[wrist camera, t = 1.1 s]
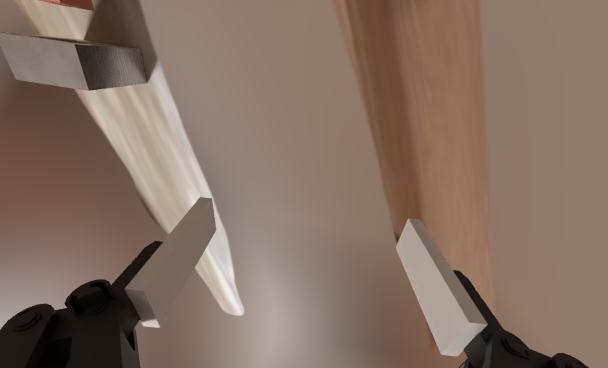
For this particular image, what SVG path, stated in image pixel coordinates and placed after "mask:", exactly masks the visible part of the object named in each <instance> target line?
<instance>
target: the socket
mask: <svg viewBox="0 0 608 368" xmlns="http://www.w3.org/2000/svg"><path fill="white" fill-rule="evenodd" d="M0 46H1V48H2V50H3V52H4V54H5V57H6V59H7V61H8V63H9V65H10V68H11V70H12V72H13V74H14V76H15V79H16V80H23V81H29V82H37V83H42V84H49V85H55V86H62V87H68V88H75V89H81V90H88V91H90V90H98V89H106V88H114V87H121V86H129V85H137V84H145V83H147V80H146V75H145V69H144V64H143V59H142V54H141V49H137V48H130V47H124V46H118V45H112V44H106V43H99V42H93V41H87V40H79V39H69V38H58V37H48V36H37V35H26V34H16V33H5V32H0Z"/></svg>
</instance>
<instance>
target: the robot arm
mask: <svg viewBox="0 0 608 368" xmlns="http://www.w3.org/2000/svg"><path fill="white" fill-rule="evenodd" d="M215 231H216V225H215V217H214V210H213V203H212V198H203V197H200V198H199V199H198V201H197V202H196V203H195V204H194V205H193V207H192V208H191V209H190V210H189V211H188V213H187V214H186V215H185V216H184V218H183V219H182V220H181V221H180V222H179V224H178V225H177V226H176V227H175V228H174V230H173V231H172V232H171V233H170V234H169V236H168V237H167V238H166V239H165V241H164V242H159V241H154V242H153V243H151V244H150V245H148V246H147V247H145V248H144V249H143V250H142V251H141V253H140V254H139V255H138V257H137V258H135V260H133V261H132V263H131V264H130V265H129V266H128V267H127V268H126V269H125V270H124V271H123V273H122V274H121V275H120V276H119V277H118V278H117V279H116V280H115V282H114V283H113V284H112V285H111V284H110V283H109V281H107V280H102V279H101V280H94V281H90V282H88V283H85V284H83V285H81V286H80V287H78V288H77V289H75V290H74V291H73V292H72V293H71V294H70V295H69V296H68V297H67V299H66V302H65V305H66V307H67V308H65V309H59V310H54V308H53V307H52V306H51V305H49V304H38V305H35V306H32V307H29V308H27V309H25V310H23V311H21V312H19V313H17V314H16V315H15V316H13V317H12V318H11V319H10V320H8V321H7V323H6V324H5V325H4V326H3V327H2V328H1V330H0V368H140V361H139V353H138V345H137V337H136V331H135V328H134V327H135V326H136V324H137V323H138V321H139V320H141V322H142V324H143V326H147V327H158V328H160V327H161V325H162V323H163V322H164V320H165V318H166V317H167V315H168V313H169V311H170V310H171V308H172V306H173V304H174V303H175V301H176V299H177V297H178V296H179V294H180V292H181V290H182V289H183V287H184V285H185V283H186V282H187V280H188V278H189V276H190V275H191V273H192V271H193V270H194V268H195V266H196V264H197V263H198V261H199V259H200V257H201V256H202V254H203V252H204V250H205V249H206V247H207V245H208V243H209V242H210V240H211V238H212V236H213V235H214V233H215ZM396 250H397V252H398V254H399V257H400V259H401V261H402V264H403V266H404V268H405V271H406V273H407V275H408V278H409V280H410V282H411V285H412V287H413V290H414V292H415V294H416V297H417V299H418V301H419V304H420V306H421V308H422V311H423V313H424V315H425V318H426V320H427V322H428V325H429V327H430V329H431V332H432V334H433V336H434V339H435V341H436V343H437V346H438V348H439V350H440V352H441V354H442V355H450V356H458V355H459V354H460V353H461V352H462V351H463V350H464V351H465V353H466V355H467V357H468V359H467V360H466V361H465V362H463V363H462V365H460V367H459V368H588V367H587V366H585V365H584V364H583V363H582V362H581V361H579V360H578V359H576V358H574V357H572V356H570V355H567V354H564V353H557V354H556V355H554V356H553V357H552V358H551V357H548V356H546V355H543V354H541V353H538V352H536V351H533V350H530V349H529V348H528V347H527V346H526V345H525V344H524V343H523V342H522V341H521V340H520V339H519V338H517V337H516V336H515V335H514V334H512V333H509V332H508V331H505V330H504V329H503V328H502V326H501V325H500V324H499V322H498V321H497V319H496V318H495V316H494V315H493V314H492V312H491V311H490V309H489V308H488V306H487V305H486V303H485V302H484V301H483V299H481V296H480V295H479V293H478V292H477V291H476V290H475V288H474V286H473V285H472V283H471V282H470V281H469V279H468V278H467V277H466V276H464V275H463V274H462V273H461V272H460V271H456V270H452V269H451V267H450V265H449V264H448V262H447V261H446V259H445V258H444V256H443V255H442V253H441V252H440V250H439V249H438V247H437V246H436V244H435V242H434V241H433V239H432V238H431V236H430V235H429V233H428V232H427V230H426V229H425V227H424V226H423V224H422V222H421V221H420V220H418V219H409V218H408V220H407V223H406V225H405V227H404V230H403V232H402V234H401V237H400V239H399V242H398V244H397V246H396Z"/></svg>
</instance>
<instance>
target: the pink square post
mask: <svg viewBox="0 0 608 368" xmlns="http://www.w3.org/2000/svg"><path fill="white" fill-rule="evenodd" d="M40 1H44V2H49V3H53V4H58V5H63V6H69V7H75V8H81V9H87V10H93V11H94V8H93V5H92V1H91V0H40Z"/></svg>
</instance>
